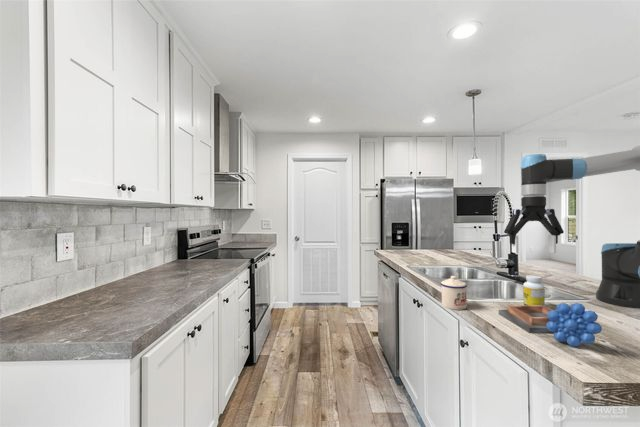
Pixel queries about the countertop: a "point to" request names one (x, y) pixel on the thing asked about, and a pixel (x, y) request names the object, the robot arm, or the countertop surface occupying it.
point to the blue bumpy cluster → (573, 324)
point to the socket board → (528, 317)
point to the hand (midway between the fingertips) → (533, 252)
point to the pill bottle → (534, 291)
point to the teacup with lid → (454, 294)
